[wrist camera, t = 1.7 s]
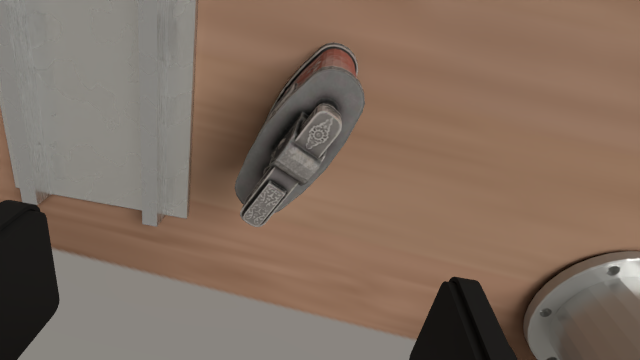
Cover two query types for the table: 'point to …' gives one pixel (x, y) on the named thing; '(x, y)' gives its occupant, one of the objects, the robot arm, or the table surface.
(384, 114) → the table surface
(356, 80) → the lighter
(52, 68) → the track
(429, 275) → the table surface
